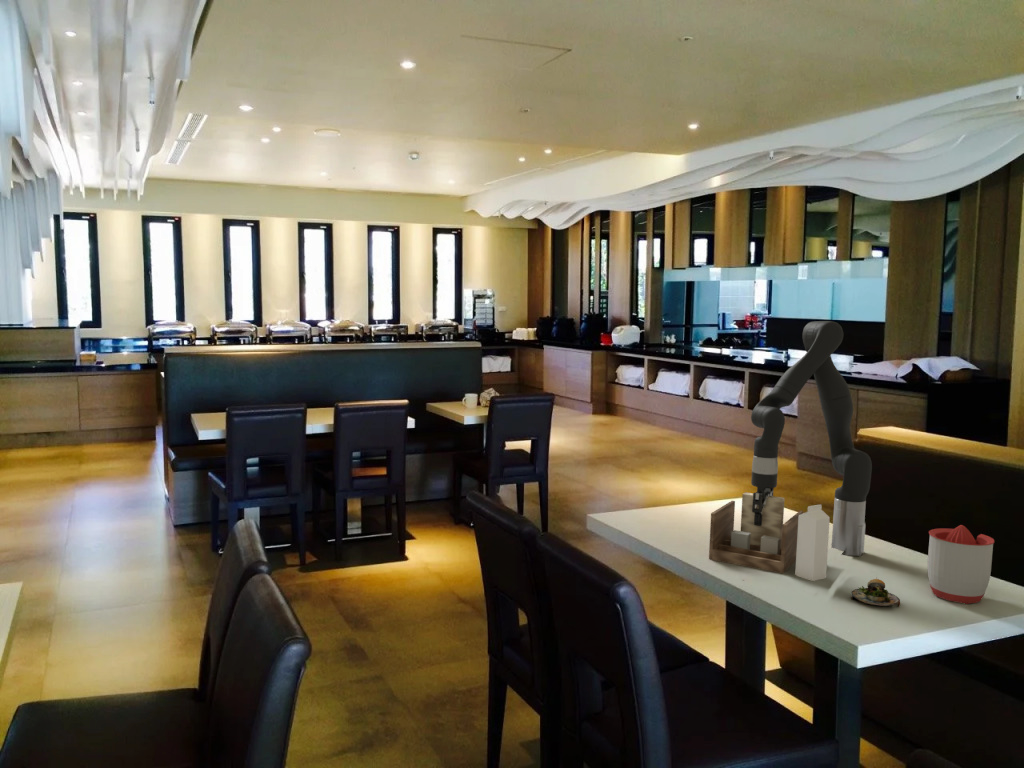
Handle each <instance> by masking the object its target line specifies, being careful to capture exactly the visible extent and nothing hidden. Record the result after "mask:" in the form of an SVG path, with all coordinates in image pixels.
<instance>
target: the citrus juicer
mask: <svg viewBox="0 0 1024 768" xmlns="http://www.w3.org/2000/svg"><path fill="white" fill-rule="evenodd" d="M928 534H929V542H928V554H927V576H928V580H929V581H928V582H929V586H930V589H931V591H932V593H933V595H935V597H936V598H940V599H944V600H946V601H949V602H950V601H951V602H956V603H961V604H963V603H965V604H964V605H970V604H977V603H979V602H981V601H982V599H983V598H984V596H985V594H986V591H987V589H988V587H989V583H990V579H991V572H992V562H993V551H994V549H993V548H994V544H995V539H994V538H993V537H991V536H988V535H986V534H982V533H980V534H978V535H977V536H976V538H975V537H974V536H973V534H972V532H970V530H969V529H968V528H967V527H966V526H965V525H963V524H960V525H958V526H956V527H955V528H941V527H940V528H934V529H933V528H932V529H930V530H928Z"/></svg>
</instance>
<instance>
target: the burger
mask: <svg viewBox="0 0 1024 768" xmlns="http://www.w3.org/2000/svg"><path fill="white" fill-rule="evenodd" d="M866 586H867V587H864V586H863V585H861V587H857V588H855V589H854V590H851V597H850V600H853V599H856V600H858V601H860V602H862V603H865V604H869V605H872V606H880V607H882V606H883V607H887V606H894V605H897V607H898V608H900V605H901V600H900V598H899V597H898V596H897V595H895V594H893V593H891V592H889V590H888V589H885V588H886V583H885V582H884V581H883V580H882V579H879V578H873V579H871V580H869V581H868V582H867V585H866Z"/></svg>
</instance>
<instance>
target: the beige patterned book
mask: <svg viewBox="0 0 1024 768" xmlns="http://www.w3.org/2000/svg"><path fill="white" fill-rule="evenodd" d="M753 493H754V492H753ZM753 493H751V492H747V491H745V492H744V493H742V495H741V496H742V497H741V515H740V516H741V517H740V531H742V532H747V533H751V537H750V544H753V545H758V546H761V537H762V536H764V535H765V536H771V537H777V538H781V542H780V549H781V545H782V528H783V524H784V516H785V515H784V512H785V499H786V498H785V497H782V496H774V495H773V496H769V498H768V500H767V504H766V507H765V508H764V510H763V514H762V525H761V526H756V525H754V515H755V513H754V512H752V505H753ZM757 501H758V500H757ZM757 509H759V507H757Z"/></svg>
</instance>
